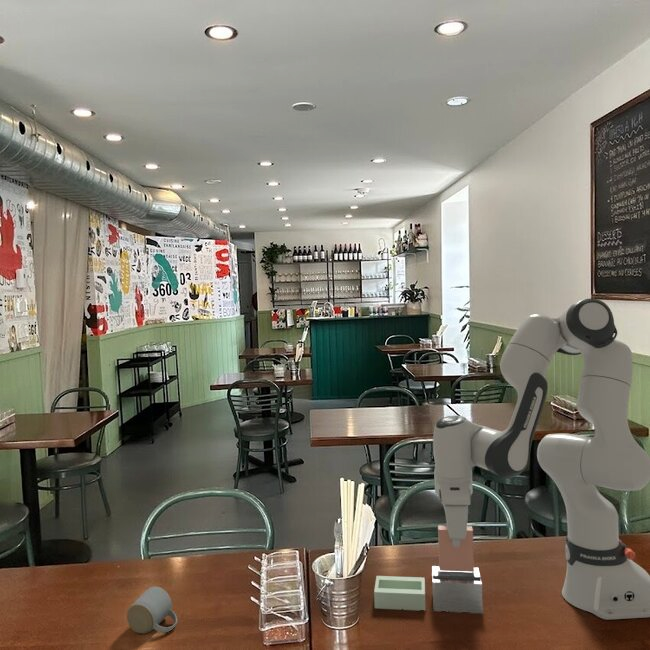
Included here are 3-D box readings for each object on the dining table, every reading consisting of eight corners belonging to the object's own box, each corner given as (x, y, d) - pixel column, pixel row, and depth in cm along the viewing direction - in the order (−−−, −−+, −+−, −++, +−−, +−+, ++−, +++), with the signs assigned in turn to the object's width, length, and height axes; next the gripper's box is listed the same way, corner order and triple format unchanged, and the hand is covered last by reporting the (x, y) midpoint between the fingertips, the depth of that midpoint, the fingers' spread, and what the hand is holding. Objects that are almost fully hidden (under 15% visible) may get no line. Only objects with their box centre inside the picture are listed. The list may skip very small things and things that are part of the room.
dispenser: (479, 595, 141) (478, 565, 140) (482, 613, 133) (481, 581, 132) (432, 593, 142) (431, 563, 142) (433, 611, 135) (432, 579, 134)
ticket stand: (425, 593, 143) (424, 577, 143) (425, 610, 135) (424, 594, 135) (377, 591, 145) (376, 575, 145) (374, 608, 137) (374, 592, 137)
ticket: (472, 566, 138) (471, 526, 137) (473, 571, 135) (472, 530, 135) (439, 565, 139) (438, 525, 139) (439, 570, 137) (438, 529, 136)
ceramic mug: (124, 634, 131) (123, 601, 130) (145, 614, 138) (144, 583, 138) (165, 640, 128) (164, 607, 127) (184, 620, 136) (183, 588, 135)
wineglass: (343, 555, 165) (341, 515, 165) (359, 561, 162) (358, 519, 161) (331, 563, 161) (329, 521, 160) (347, 569, 157) (345, 526, 157)
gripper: (438, 471, 147) (440, 523, 148) (441, 500, 127) (444, 561, 127) (463, 471, 146) (465, 524, 147) (470, 500, 126) (473, 561, 126)
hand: (455, 541), depth 137 cm, fingers closed on ticket, 2 cm apart
